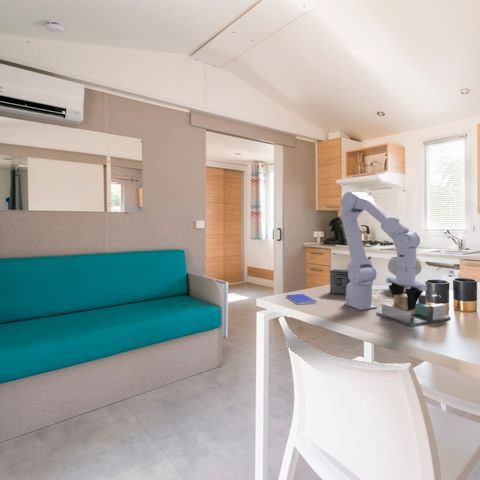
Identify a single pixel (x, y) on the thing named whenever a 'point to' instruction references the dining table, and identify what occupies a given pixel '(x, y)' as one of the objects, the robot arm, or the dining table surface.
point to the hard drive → (301, 299)
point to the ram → (422, 306)
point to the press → (414, 315)
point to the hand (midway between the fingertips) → (404, 307)
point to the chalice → (393, 267)
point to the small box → (338, 281)
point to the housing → (402, 302)
